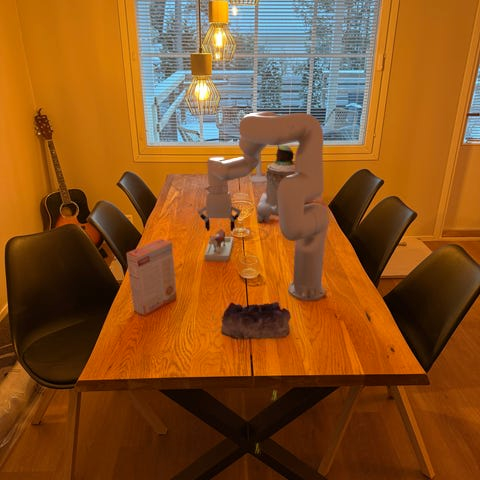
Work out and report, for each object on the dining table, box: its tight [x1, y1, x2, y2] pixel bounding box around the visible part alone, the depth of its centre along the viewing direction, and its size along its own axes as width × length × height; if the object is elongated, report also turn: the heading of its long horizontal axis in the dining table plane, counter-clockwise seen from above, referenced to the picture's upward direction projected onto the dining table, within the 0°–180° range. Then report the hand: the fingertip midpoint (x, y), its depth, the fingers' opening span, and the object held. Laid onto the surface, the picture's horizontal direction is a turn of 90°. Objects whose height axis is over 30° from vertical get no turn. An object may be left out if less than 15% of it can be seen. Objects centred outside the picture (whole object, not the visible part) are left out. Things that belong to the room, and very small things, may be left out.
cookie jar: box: [257, 145, 306, 207], centre depth 232 cm, size 25×25×32 cm
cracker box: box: [125, 238, 178, 317], centre depth 140 cm, size 14×6×21 cm, turn 141°
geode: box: [220, 301, 292, 340], centre depth 129 cm, size 20×12×10 cm, turn 97°
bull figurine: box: [208, 228, 226, 253], centre depth 180 cm, size 4×13×8 cm, turn 162°
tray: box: [204, 236, 234, 262], centre depth 182 cm, size 19×10×2 cm, turn 176°
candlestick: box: [248, 152, 267, 184], centre depth 276 cm, size 13×13×30 cm
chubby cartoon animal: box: [256, 203, 279, 223], centre depth 213 cm, size 8×12×9 cm, turn 89°
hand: (220, 230), depth 178 cm, fingers open, 9 cm apart
